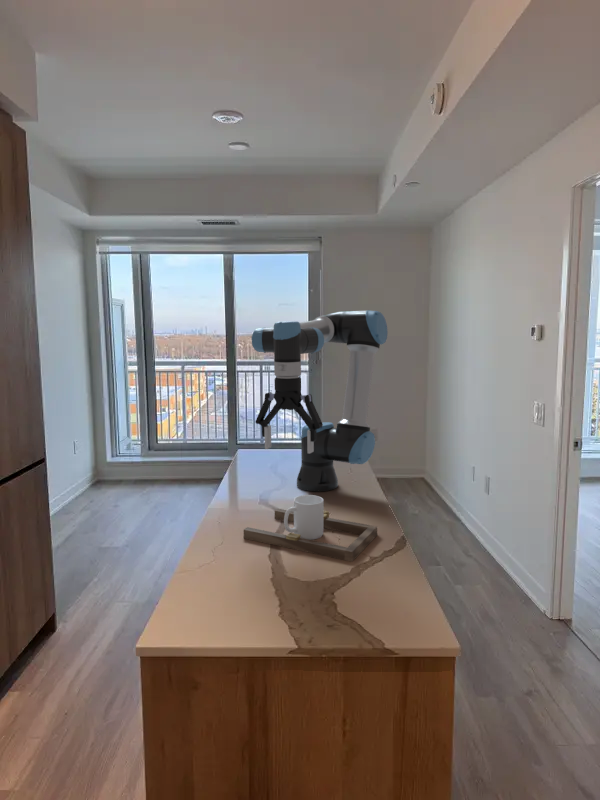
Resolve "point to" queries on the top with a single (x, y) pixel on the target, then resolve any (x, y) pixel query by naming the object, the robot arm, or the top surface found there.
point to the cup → (307, 516)
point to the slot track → (316, 547)
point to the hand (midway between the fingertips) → (288, 450)
